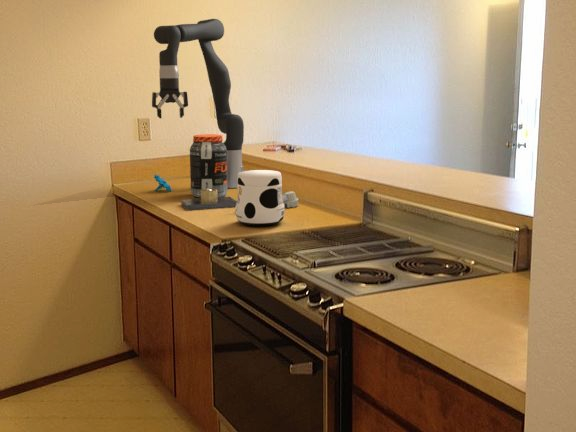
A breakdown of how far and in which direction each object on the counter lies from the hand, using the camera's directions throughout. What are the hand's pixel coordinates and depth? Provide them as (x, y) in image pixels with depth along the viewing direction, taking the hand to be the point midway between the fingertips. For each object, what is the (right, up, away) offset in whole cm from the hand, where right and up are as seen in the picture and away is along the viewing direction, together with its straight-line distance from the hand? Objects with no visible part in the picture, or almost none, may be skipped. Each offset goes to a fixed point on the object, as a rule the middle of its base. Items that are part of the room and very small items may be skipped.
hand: (170, 117), depth 286 cm
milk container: (+38, -43, -36) cm, 67 cm away
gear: (-8, -29, +30) cm, 42 cm away
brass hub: (+16, -34, -4) cm, 38 cm away
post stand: (+16, -36, -4) cm, 39 cm away
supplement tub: (+14, -31, +19) cm, 39 cm away
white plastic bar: (+40, -38, -11) cm, 56 cm away
